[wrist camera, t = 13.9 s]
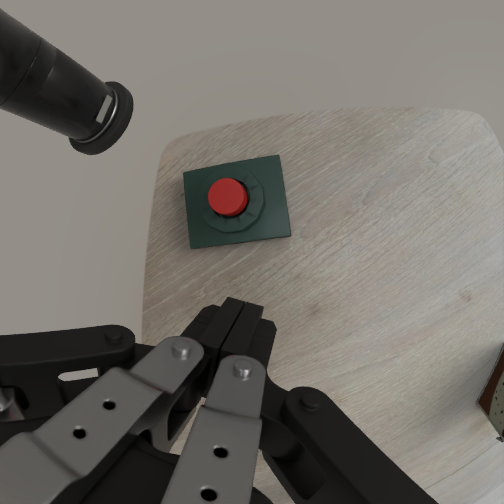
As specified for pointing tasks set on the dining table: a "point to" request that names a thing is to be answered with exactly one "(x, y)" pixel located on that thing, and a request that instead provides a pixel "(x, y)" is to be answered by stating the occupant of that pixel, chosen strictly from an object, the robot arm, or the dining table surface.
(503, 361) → the cake slice
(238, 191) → the button
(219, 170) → the control block
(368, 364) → the dining table surface
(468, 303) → the dining table surface
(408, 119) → the dining table surface
